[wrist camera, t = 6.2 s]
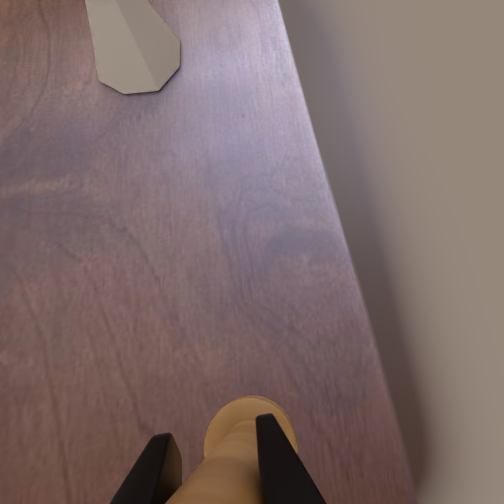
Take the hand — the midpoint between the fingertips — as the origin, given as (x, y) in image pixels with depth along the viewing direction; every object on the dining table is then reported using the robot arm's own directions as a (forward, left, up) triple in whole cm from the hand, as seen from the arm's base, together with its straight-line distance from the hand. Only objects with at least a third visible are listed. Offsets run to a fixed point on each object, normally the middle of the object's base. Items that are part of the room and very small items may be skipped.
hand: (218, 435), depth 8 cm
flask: (+28, +5, -14) cm, 31 cm away
